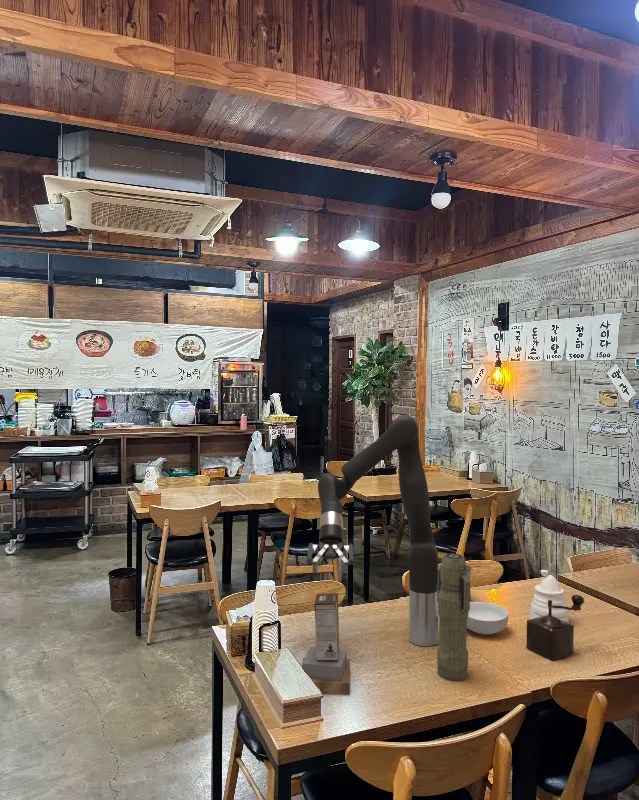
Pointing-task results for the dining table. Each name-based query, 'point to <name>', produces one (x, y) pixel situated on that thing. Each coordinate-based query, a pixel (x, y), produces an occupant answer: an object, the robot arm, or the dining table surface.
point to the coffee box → (327, 626)
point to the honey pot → (549, 591)
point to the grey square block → (324, 666)
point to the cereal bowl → (486, 618)
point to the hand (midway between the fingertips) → (330, 576)
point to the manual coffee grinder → (552, 633)
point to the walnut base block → (335, 683)
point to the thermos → (453, 617)
